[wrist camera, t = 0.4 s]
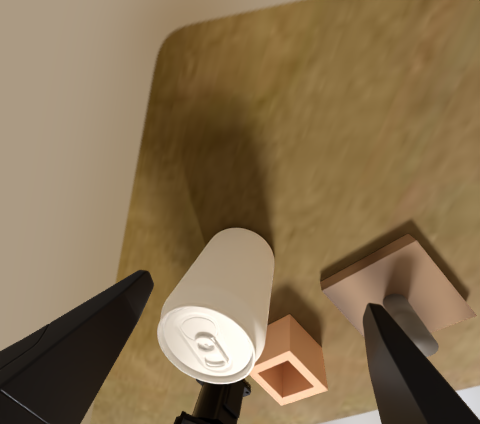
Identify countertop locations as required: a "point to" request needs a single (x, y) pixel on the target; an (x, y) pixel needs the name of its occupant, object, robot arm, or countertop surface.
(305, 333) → the collar
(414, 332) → the post stand
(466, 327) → the countertop surface
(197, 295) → the beverage can
